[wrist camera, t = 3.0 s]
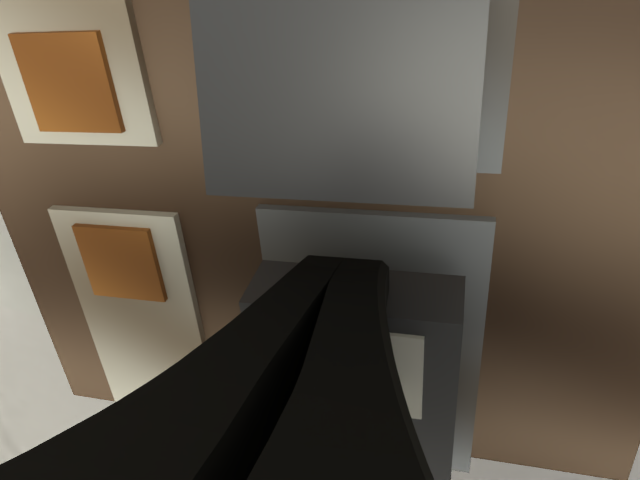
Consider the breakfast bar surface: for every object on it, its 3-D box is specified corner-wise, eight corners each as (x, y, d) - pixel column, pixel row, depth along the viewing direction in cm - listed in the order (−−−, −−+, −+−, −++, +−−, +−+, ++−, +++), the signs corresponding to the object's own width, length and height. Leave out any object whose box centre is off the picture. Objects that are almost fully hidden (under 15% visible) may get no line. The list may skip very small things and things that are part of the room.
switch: (448, 483, 12) (445, 541, 11) (294, 457, 13) (277, 508, 12) (465, 276, 9) (463, 328, 8) (262, 260, 10) (237, 305, 9)
